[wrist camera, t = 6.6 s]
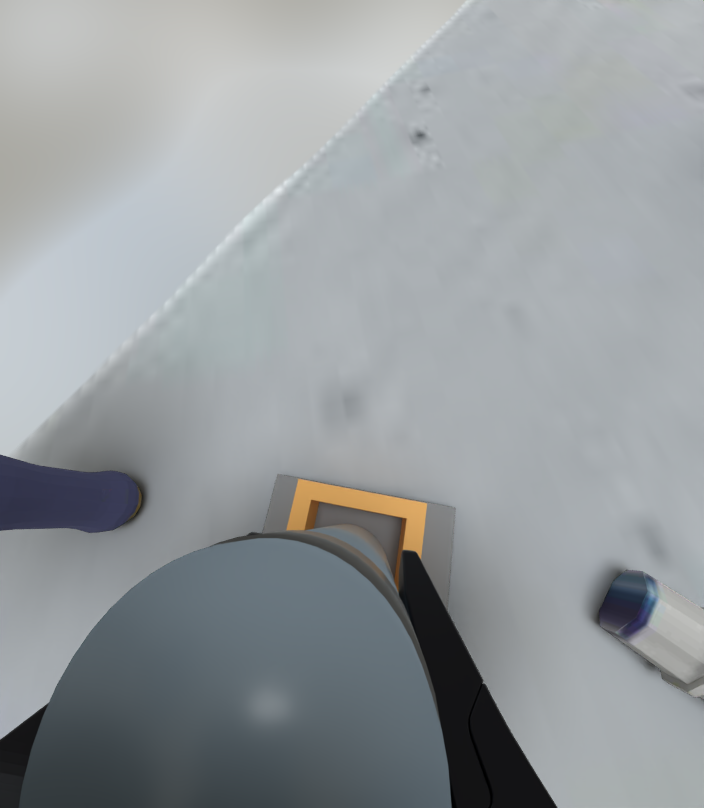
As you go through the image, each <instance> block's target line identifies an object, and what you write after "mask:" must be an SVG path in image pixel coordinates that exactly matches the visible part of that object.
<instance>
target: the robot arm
mask: <svg viewBox="0 0 704 808" xmlns="http://www.w3.org/2000/svg"><path fill="white" fill-rule="evenodd" d="M256 534H263V533H257V532H251V533H249V534H248V535H247V536H249V535H256ZM398 594H399V597H400V599H401V600H402V602H403V604H404V606H405V609H406V611H407V613H408V616H409V618H410V621H411V623H412V626H413V629H414V631H415V634H416V637H417V640H418V642H419V645H420V648H421V651H422V654H423V656H424V659H425V662H426V665H427V668H428V671H429V675H430V678H431V682H432V685H433V688H434V692H435V696H436V701H437V707H438V712H439V718H440V724H441V729H442V734H443V739H444V745H445V750H446V756H447V762H448V769H449V781H450V794H451V808H557V806H556V804H555V803H554V801H553V800H552V798H551V796H550V795H549V793H548V792H547V790H546V788H545V787H544V785H543V784H542V782H541V780H540V779H539V777H538V776H537V774H536V772H535V771H534V769H533V768H532V766H531V764H530V763H529V761H528V759H527V758H526V756H525V754H524V753H523V751H522V749H521V748H520V746H519V744H518V743H517V741H516V739H515V738H514V736H513V734H512V733H511V731H510V729H509V727H508V726H507V724H506V722H505V720H504V718H503V716H502V715H501V713H500V711H499V709H498V707H497V705H496V704H495V702H494V700H493V698H492V696H491V694H490V692H489V690H488V688H487V686H486V684H484V683H483V679H482V677H481V675H480V673H479V671H478V669H477V667H476V665H475V663H474V661H473V660H472V658H471V656H470V654H469V652H468V650H467V648H466V646H465V644H464V642H463V640H462V638H461V636H460V634H459V632H458V631H457V629H456V627H455V625H454V623H453V621H452V619H451V617H450V615H449V613H448V611H447V609H446V607H445V605H444V604H443V602H442V600H441V598H440V596H439V594H438V592H437V590H436V588H435V586H434V584H433V582H432V580H431V578H430V576H429V575H428V573H427V571H426V569H425V567H424V565H423V563H422V561H421V559H420V557H419V555H418V554H417V552H416V551H411V550H402V552H401V559H400V566H399V584H398ZM482 683H483V684H482ZM48 704H49V703H48ZM48 704H46V705H45V706H44V707H43V708H41V709H40V710H39V711H37V712H36V713H35V714H33V715H32V716H31V717H29V718H28V719H27V720H25V721H24V722H23V723H22V724H20V725H19V726H18V727H16V728H15V729H14V730H12V731H11V732H10V733H8V734H7V735H6V736H5V737H3V738H2V739H0V808H19V802H20V796H21V790H22V784H23V780H24V777H25V773H26V769H27V765H28V761H29V757H30V753H31V749H32V746H33V743H34V740H35V738H36V735H37V732H38V729H39V726H40V723H41V720H42V718H43V715H44V713H45V711H46V708H47V706H48Z"/></svg>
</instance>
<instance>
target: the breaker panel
mask: <svg viewBox="0 0 704 808" xmlns="http://www.w3.org/2000/svg"><path fill="white" fill-rule="evenodd" d="M455 510H456V508H453V507H448V506H443V505H438V504H432V503H427V502H422V501H417V500H411V499H406V498H401V497H396V496H390V495H385V494H380V493H375V492H369V491H364V490H359V489H354V488H348V487H343V486H338V485H332V484H327V483H322V482H317V481H311V480H306V479H301V478H296V477H290V476H285V475H280V474H277V478H276V482H275V486H274V489H273V493H272V497H271V501H270V505H269V509H268V513H267V517H266V520H265V524H264V528H263V532H262V533H271V532H279V531H286V530H309V529H316V528H322V527H328V526H334V525H340V524H352V525H356V526H359V527H362V528H364V529H366V530H367V531H369V532H370V533H371V534H373V535H374V536H375V538H376V539H377V540H378V541H379V543H380V544H381V546H382V547H383V549H384V552H385V554H386V557H387V560H388V563H389V566H390V569H391V572H392V576H393V579H394V582H395V585H396V588H397V591H398V584H399V566H400V559H401V552H402V550H411V551H416V552H417V554H418V555H419V557H420V559H421V561H422V563H423V565H424V567H425V569H426V571H427V573H428V575H429V576H430V578H431V580H432V582H433V584H434V586H435V588H436V590H437V592H438V594H439V596H440V598H441V600H442V602H443V604H444V605H445V607H446V609H447V607H448V595H449V583H450V571H451V559H452V547H453V534H454V522H455Z"/></svg>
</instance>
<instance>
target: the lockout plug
mask: <svg viewBox="0 0 704 808" xmlns="http://www.w3.org/2000/svg"><path fill="white" fill-rule="evenodd" d="M19 808H451V794H450V781H449V769H448V762H447V756H446V750H445V745H444V739H443V734H442V729H441V724H440V718H439V712H438V707H437V701H436V696H435V692H434V688H433V685H432V682H431V678H430V675H429V671H428V668H427V665H426V662H425V659H424V656H423V654H422V651H421V648H420V645H419V642H418V640H417V637H416V634H415V631H414V629H413V626H412V623H411V621H410V618H409V616H408V613H407V611H406V609H405V606H404V604H403V602H402V600H401V599H400V597H399V594H398V591H397V588H396V585H395V582H394V579H393V576H392V572H391V569H390V566H389V563H388V560H387V557H386V554H385V552H384V549H383V547H382V546H381V544H380V543H379V541H378V540H377V539H376V538H375V536H374V535H373V534H371V533H370V532H369V531H367V530H366V529H364V528H362V527H359V526H356V525H352V524H340V525H334V526H328V527H322V528H316V529H309V530H286V531H279V532H271V533H263V534H256V535H249V536H242V537H237V538H233V539H230V540H226V541H223V542H219V543H217V544H214V545H212V546H210V547H207V548H204V549H201V550H197V551H194V552H192V553H190V554H187V555H185V556H183V557H180V558H178V559H176V560H174V561H172V562H170V563H168V564H167V565H165V566H163V567H162V568H160V569H158V570H156V571H155V572H153V573H151V574H150V575H149V576H147V577H146V578H145V579H143V580H142V581H141V582H140V583H138V584H137V585H136V586H134V587H133V588H132V589H130V590H129V591H128V592H127V593H126V594H125V595H124V596H123V597H122V598H121V599H120V600H119V601H118V602H117V603H116V604H115V605H114V606H112V607H111V608H110V609H109V611H108V612H107V613H106V614H105V615H104V616H103V618H102V619H101V620H100V621H99V622H98V623H97V625H96V626H95V627H94V628H93V629H92V630H91V632H90V633H89V635H88V636H87V637H86V639H85V640H84V642H83V643H82V645H81V646H80V647H79V649H78V650H77V652H76V653H75V655H74V656H73V658H72V659H71V661H70V663H69V665H68V667H67V668H66V670H65V672H64V674H63V675H62V677H61V679H60V681H59V682H58V684H57V686H56V688H55V691H54V693H53V695H52V697H51V699H50V702H49V704H48V706H47V708H46V711H45V713H44V715H43V718H42V720H41V723H40V726H39V729H38V732H37V735H36V738H35V740H34V743H33V746H32V749H31V753H30V757H29V761H28V765H27V769H26V773H25V777H24V780H23V784H22V790H21V796H20V802H19Z"/></svg>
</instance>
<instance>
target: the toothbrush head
mask: <svg viewBox="0 0 704 808" xmlns="http://www.w3.org/2000/svg"><path fill="white" fill-rule="evenodd" d="M599 618H600V626H601V627H602V628H603V629H605V630H606V631H608V632H609V633H610V634H612V635H613V636H615V637H616V638H617V639H619V640H620V641H621V642H623V643H624V644H626V645H627V646H628V647H630V648H631V649H633V650H634V651H635V652H637V653H638V654H640V655H641V656H642V657H644V658H645V659H647V660H648V661H649V662H651V663H652V664H653V665H655V666H656V667H658V668H659V669H660V672H661V676H662V679H663V680H665V681H666V682H667V683H669V684H670V685H672V686H674V687H676V688H678V689H680V690H682V691H684V692H686V693H688V694H689V695H691V696H693V697H695V698H696V697H698V696H699V697H701V698H702V699H703V700H704V608H702V607H699V606H697V605H696V604H694V603H692V602H691V601H689V600H688V599H686V598H684V597H683V596H681V595H680V594H678V593H676V592H675V591H673V590H672V589H670V588H669V587H667V586H665V585H664V584H662V583H661V582H659V581H657V580H656V579H654V578H653V577H651V576H649V575H648V574H646V573H645V572H643V571H634V570H626V571H625V572H623V573H622V574H621V575H620V576H619V577H617V578H616V579H615V580H614V581H613V583H612V585H611V587H610V589H609V591H608V593H607V595H606V597H605V599H604V602H603V604H602V606H601V608H600V610H599Z"/></svg>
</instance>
